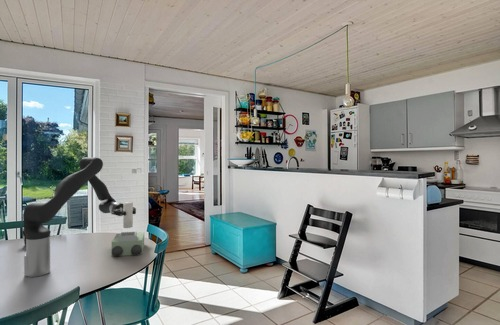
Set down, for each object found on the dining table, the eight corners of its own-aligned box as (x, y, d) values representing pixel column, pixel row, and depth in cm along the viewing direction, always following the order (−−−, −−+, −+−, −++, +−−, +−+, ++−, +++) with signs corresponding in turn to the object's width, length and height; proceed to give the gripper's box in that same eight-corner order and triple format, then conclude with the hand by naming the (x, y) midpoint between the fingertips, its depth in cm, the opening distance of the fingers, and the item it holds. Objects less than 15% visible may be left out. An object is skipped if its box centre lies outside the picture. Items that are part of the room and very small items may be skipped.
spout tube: (122, 228, 167) (122, 203, 166) (123, 226, 172) (124, 202, 171) (132, 227, 168) (132, 203, 168) (133, 225, 173) (133, 202, 173)
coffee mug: (37, 246, 179) (37, 230, 179) (20, 247, 176) (20, 231, 176) (43, 241, 190) (42, 225, 190) (26, 242, 187) (26, 226, 187)
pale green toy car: (111, 257, 162) (111, 237, 162) (117, 245, 183) (117, 228, 182) (141, 255, 167) (141, 235, 166) (144, 244, 187) (144, 226, 187)
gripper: (105, 204, 174) (117, 208, 163) (129, 201, 185) (142, 205, 173) (105, 216, 175) (117, 221, 163) (129, 213, 185) (142, 217, 173)
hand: (130, 213), depth 168 cm, fingers closed on spout tube, 5 cm apart
